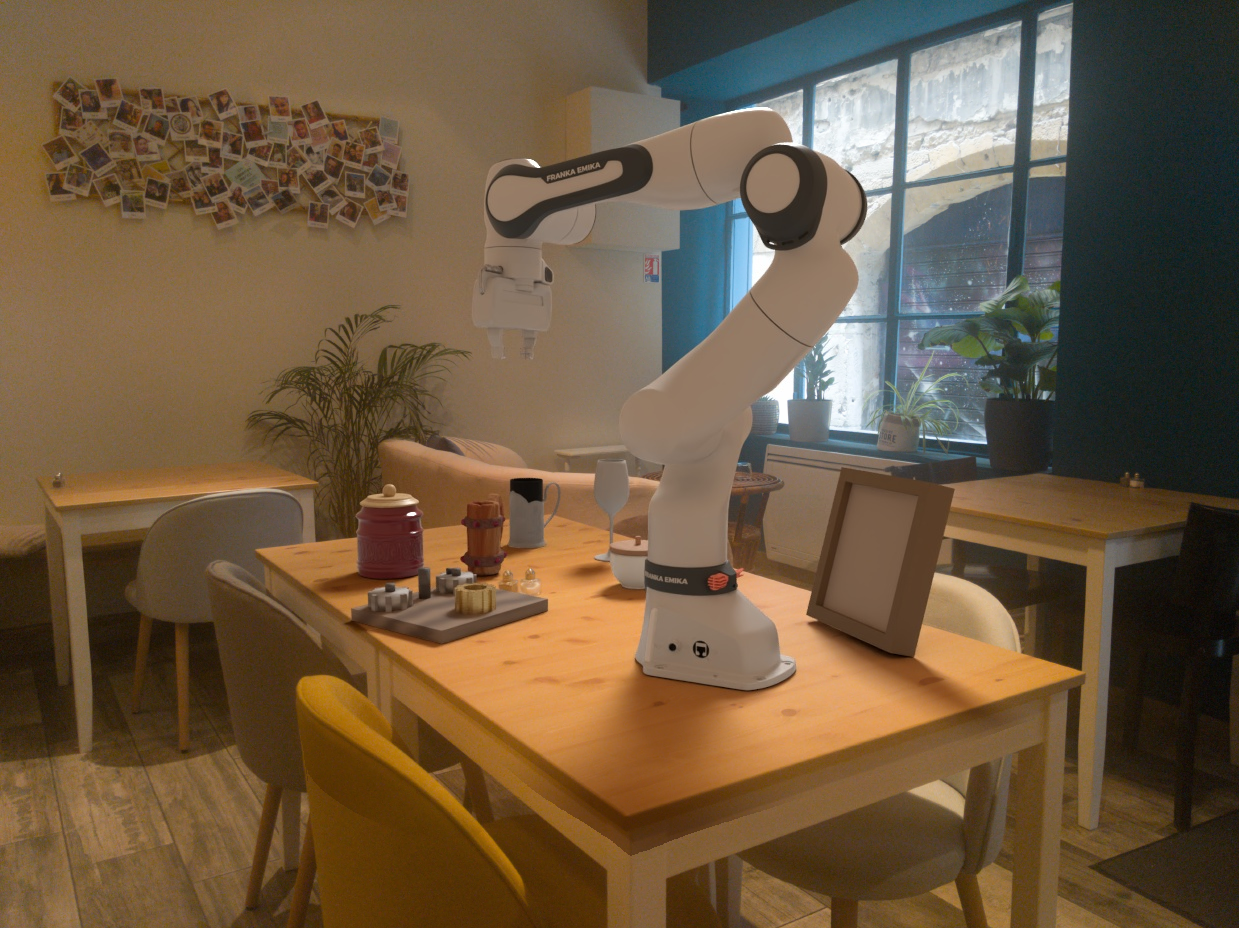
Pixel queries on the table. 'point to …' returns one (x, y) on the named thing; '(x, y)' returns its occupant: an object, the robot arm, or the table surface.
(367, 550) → the canister
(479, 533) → the mug
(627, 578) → the lidded jar
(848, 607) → the photo frame
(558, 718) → the table surface
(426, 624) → the gear board
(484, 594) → the brass gear
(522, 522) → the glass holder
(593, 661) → the table surface
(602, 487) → the wineglass
